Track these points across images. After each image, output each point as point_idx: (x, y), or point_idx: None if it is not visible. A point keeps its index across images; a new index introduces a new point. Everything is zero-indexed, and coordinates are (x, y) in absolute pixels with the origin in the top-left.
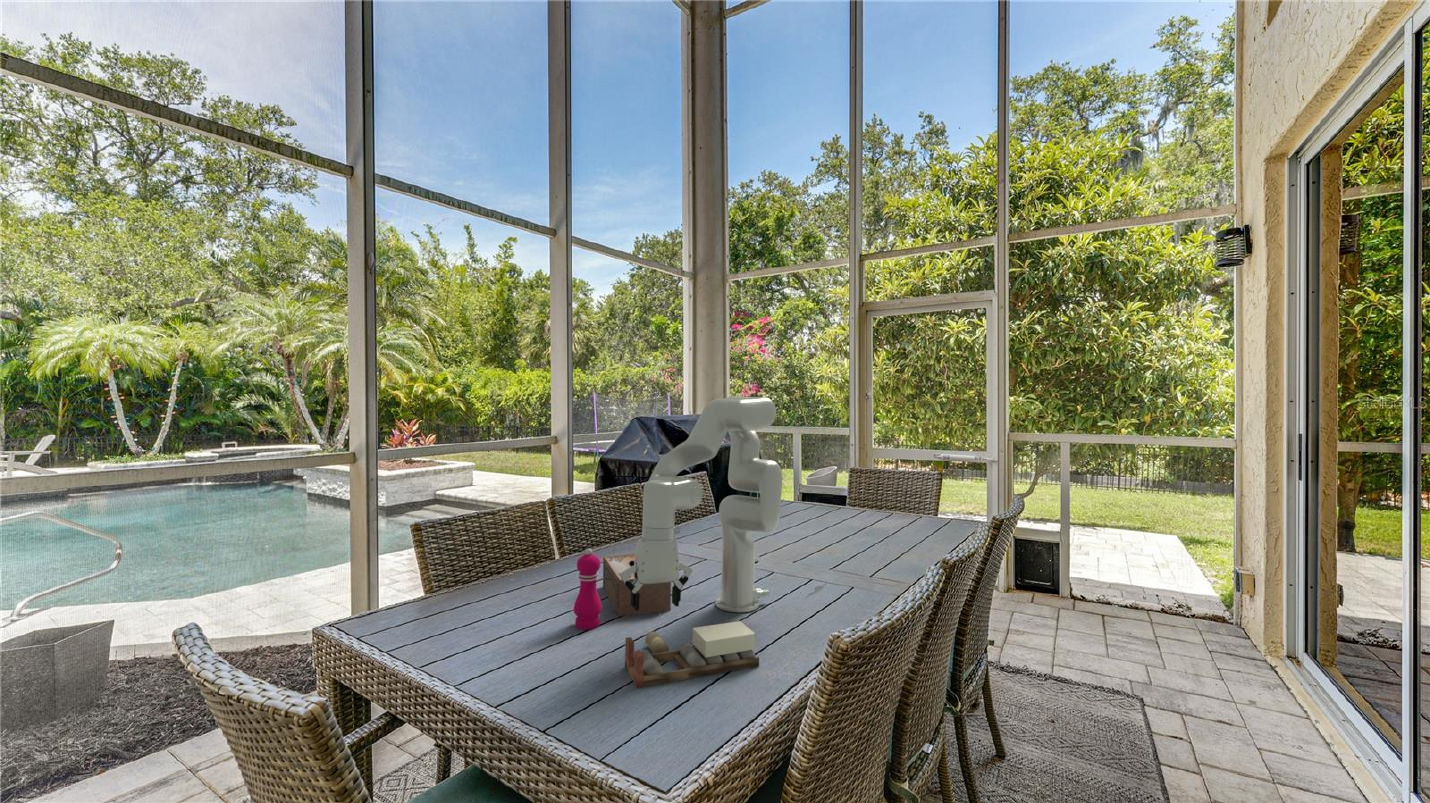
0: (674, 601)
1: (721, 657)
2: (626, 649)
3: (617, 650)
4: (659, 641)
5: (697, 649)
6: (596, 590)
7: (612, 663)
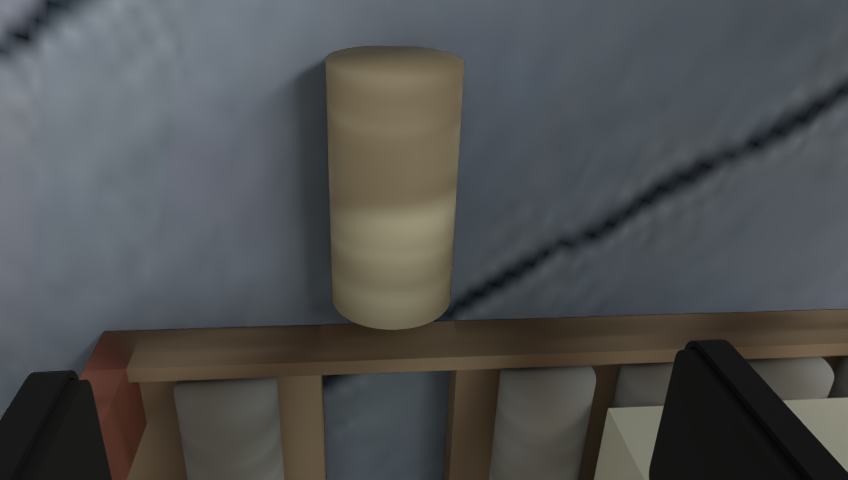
0: (677, 471)
1: None
2: None
3: (65, 37)
4: (389, 299)
5: (619, 392)
6: None
7: (12, 253)
